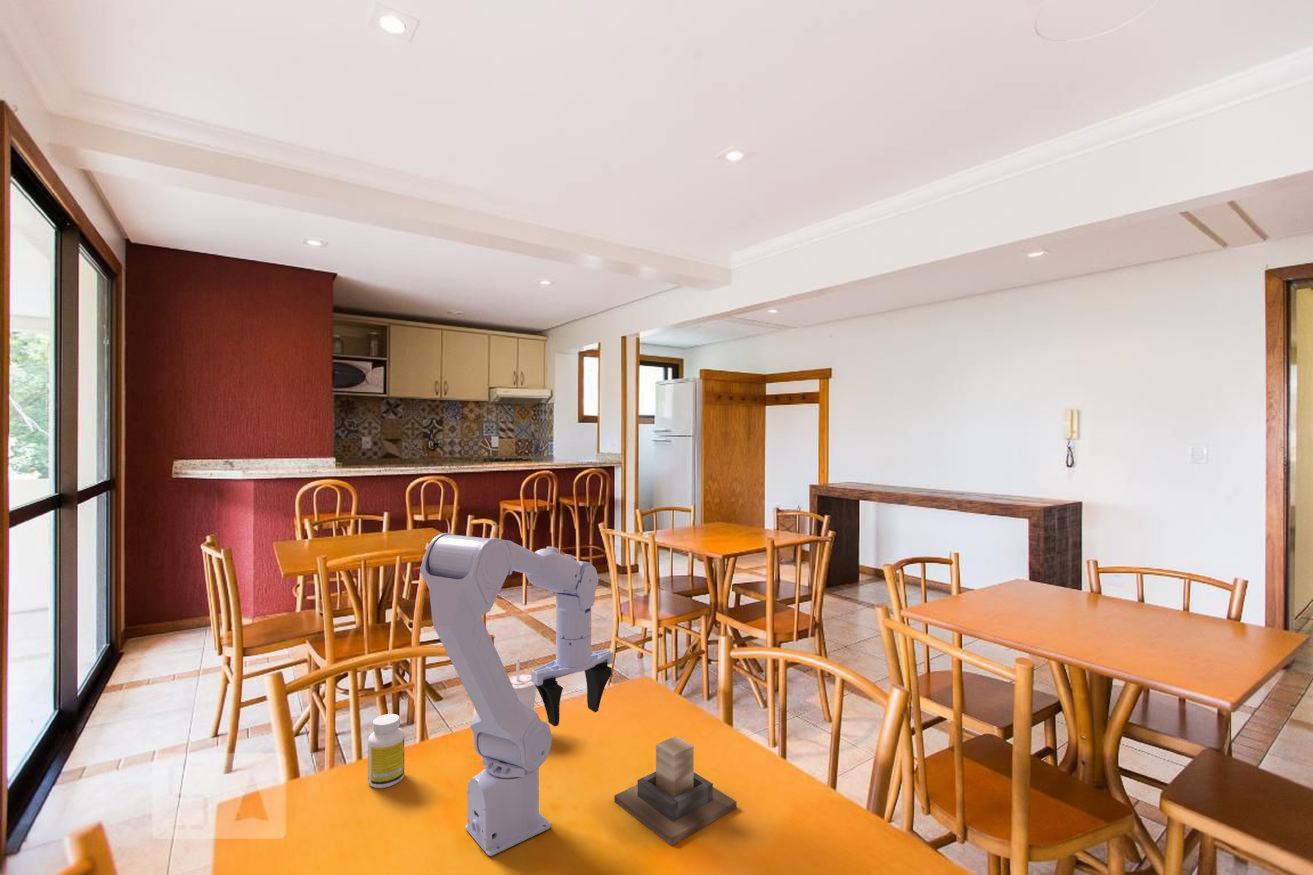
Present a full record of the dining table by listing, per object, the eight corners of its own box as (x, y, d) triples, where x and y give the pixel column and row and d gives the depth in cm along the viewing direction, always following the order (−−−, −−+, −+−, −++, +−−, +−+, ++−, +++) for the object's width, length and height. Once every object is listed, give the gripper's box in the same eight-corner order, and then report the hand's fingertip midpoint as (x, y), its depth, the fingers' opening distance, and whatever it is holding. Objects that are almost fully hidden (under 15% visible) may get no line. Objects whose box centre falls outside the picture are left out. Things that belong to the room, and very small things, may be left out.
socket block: (671, 845, 85) (671, 819, 85) (614, 801, 95) (614, 778, 94) (736, 807, 93) (736, 784, 93) (677, 771, 103) (677, 750, 103)
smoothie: (500, 728, 118) (500, 654, 117) (533, 721, 120) (533, 649, 120) (507, 744, 112) (507, 666, 112) (542, 736, 114) (542, 660, 114)
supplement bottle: (410, 779, 101) (410, 718, 100) (376, 793, 97) (376, 730, 97) (395, 766, 104) (395, 708, 104) (362, 779, 100) (361, 719, 100)
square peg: (673, 809, 91) (673, 754, 91) (655, 796, 94) (655, 744, 94) (693, 798, 94) (693, 746, 93) (675, 787, 97) (675, 735, 97)
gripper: (596, 619, 110) (596, 696, 110) (521, 637, 100) (521, 721, 100) (620, 629, 104) (620, 709, 104) (544, 648, 95) (544, 737, 95)
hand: (573, 716), depth 102 cm, fingers open, 7 cm apart
